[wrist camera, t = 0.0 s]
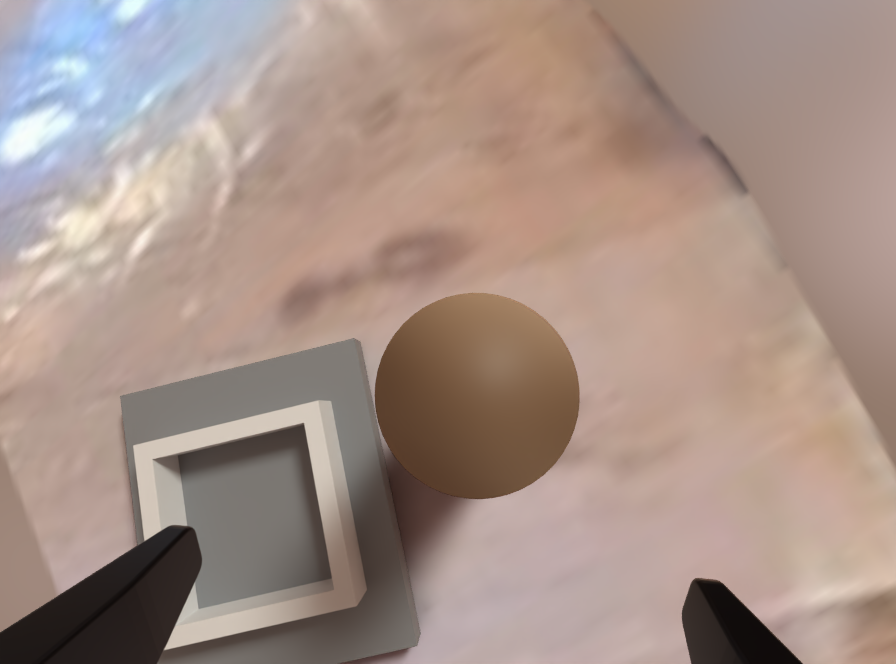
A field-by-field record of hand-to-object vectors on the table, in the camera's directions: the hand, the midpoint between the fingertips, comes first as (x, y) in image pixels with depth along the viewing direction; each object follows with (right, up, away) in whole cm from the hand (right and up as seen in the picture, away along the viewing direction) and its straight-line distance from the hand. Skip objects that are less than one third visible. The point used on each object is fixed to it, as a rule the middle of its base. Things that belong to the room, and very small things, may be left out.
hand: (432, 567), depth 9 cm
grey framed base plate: (-8, -4, +15) cm, 18 cm away
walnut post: (+2, +1, +15) cm, 15 cm away
